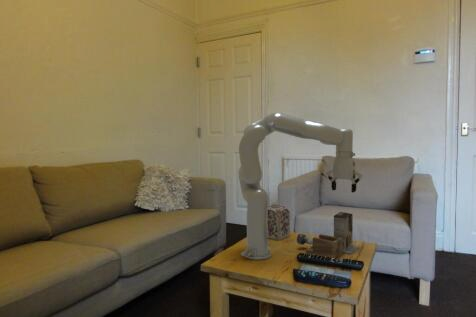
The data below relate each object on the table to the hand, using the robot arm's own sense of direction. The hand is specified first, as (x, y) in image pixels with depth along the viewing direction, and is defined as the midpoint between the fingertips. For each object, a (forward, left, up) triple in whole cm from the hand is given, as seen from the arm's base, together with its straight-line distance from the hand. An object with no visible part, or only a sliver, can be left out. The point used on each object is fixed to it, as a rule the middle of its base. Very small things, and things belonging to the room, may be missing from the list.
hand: (343, 191), depth 166 cm
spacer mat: (0, 0, -28) cm, 28 cm away
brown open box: (-12, +3, -28) cm, 31 cm away
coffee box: (0, 0, -28) cm, 28 cm away
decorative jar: (-3, +37, -28) cm, 47 cm away
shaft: (-12, +10, -26) cm, 30 cm away
